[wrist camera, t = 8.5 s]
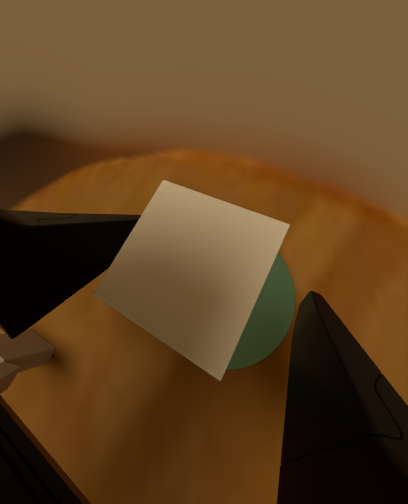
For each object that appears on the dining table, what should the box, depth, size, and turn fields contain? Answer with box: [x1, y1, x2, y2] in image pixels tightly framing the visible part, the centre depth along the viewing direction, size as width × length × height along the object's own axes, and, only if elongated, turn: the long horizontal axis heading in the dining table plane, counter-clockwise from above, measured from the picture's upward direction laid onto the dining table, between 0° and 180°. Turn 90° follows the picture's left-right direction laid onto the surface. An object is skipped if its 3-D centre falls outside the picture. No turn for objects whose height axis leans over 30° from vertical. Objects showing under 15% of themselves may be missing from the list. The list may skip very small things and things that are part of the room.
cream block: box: [93, 180, 290, 381], centre depth 11 cm, size 4×4×12 cm
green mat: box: [226, 253, 295, 370], centre depth 17 cm, size 13×13×1 cm
